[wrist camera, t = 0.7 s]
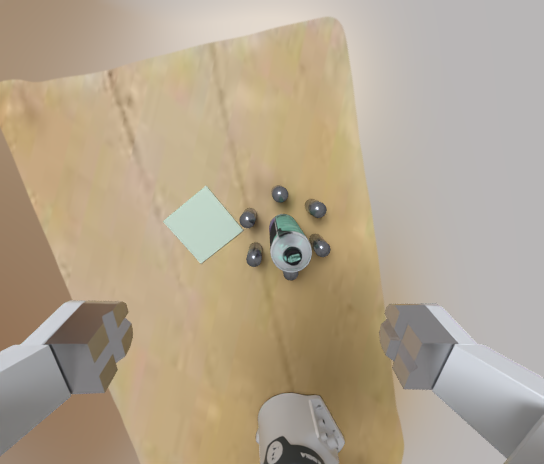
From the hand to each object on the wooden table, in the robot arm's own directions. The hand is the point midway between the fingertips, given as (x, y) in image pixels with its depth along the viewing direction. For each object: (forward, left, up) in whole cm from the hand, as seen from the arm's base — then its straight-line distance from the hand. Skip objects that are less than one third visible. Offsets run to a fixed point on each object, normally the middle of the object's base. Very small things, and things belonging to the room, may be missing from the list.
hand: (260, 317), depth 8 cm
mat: (+4, +13, -42) cm, 44 cm away
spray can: (-6, +1, -42) cm, 43 cm away
